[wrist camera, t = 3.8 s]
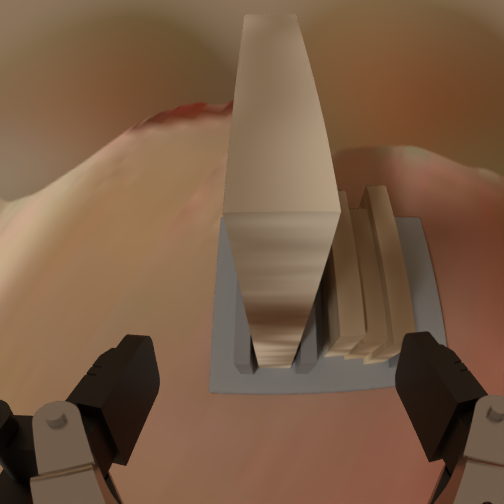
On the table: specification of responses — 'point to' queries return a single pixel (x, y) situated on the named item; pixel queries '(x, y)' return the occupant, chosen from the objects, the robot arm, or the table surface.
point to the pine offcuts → (365, 283)
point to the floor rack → (312, 332)
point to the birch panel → (278, 186)
